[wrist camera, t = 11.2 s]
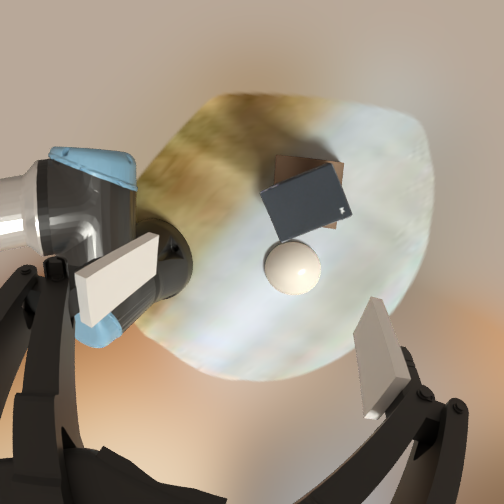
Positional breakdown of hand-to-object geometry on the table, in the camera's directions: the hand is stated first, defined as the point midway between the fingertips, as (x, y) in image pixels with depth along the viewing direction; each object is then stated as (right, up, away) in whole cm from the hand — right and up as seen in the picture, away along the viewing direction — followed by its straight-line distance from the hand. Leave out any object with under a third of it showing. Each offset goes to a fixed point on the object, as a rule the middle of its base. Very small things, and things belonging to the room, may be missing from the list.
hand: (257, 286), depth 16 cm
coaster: (+6, -1, +28) cm, 29 cm away
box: (+7, +10, +20) cm, 23 cm away
